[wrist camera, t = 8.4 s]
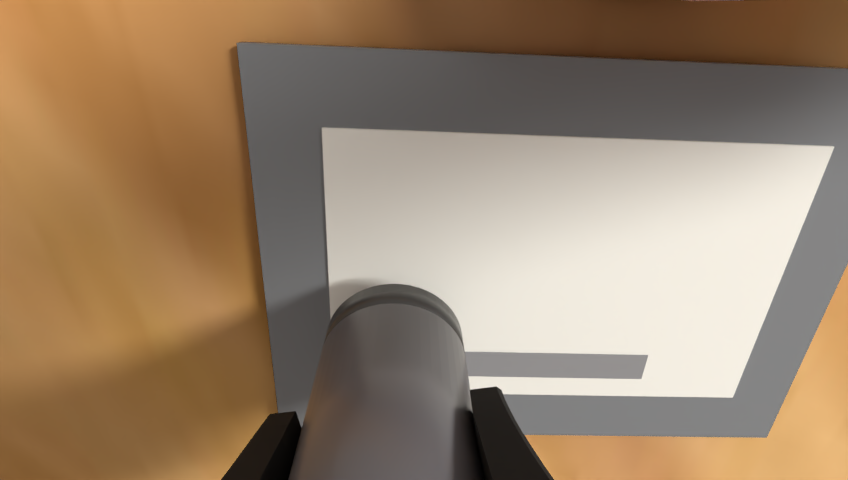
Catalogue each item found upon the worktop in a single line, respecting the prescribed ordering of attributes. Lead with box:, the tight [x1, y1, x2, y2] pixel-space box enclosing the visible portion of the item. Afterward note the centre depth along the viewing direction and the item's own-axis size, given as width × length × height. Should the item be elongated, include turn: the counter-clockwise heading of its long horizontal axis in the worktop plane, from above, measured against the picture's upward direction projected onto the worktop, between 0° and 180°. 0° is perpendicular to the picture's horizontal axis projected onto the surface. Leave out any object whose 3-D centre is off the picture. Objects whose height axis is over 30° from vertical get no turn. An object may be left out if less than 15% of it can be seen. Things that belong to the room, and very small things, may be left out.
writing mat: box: [237, 42, 848, 438], centre depth 15 cm, size 18×13×1 cm
